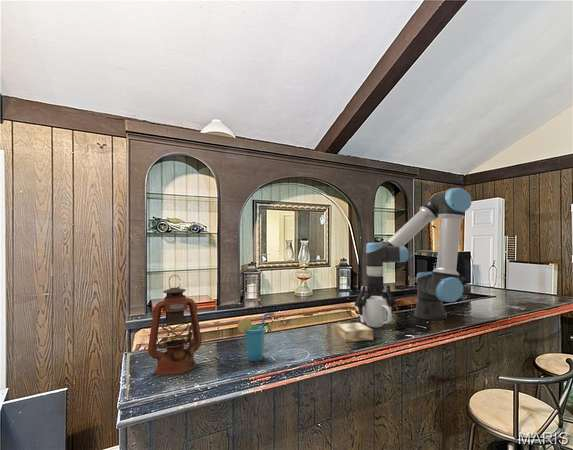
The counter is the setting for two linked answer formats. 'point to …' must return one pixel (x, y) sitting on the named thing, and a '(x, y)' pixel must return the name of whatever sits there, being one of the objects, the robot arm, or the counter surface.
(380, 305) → the mug
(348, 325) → the pedestal
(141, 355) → the counter surface
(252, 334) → the cup
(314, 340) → the counter surface
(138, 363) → the counter surface
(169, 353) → the lantern
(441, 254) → the robot arm
